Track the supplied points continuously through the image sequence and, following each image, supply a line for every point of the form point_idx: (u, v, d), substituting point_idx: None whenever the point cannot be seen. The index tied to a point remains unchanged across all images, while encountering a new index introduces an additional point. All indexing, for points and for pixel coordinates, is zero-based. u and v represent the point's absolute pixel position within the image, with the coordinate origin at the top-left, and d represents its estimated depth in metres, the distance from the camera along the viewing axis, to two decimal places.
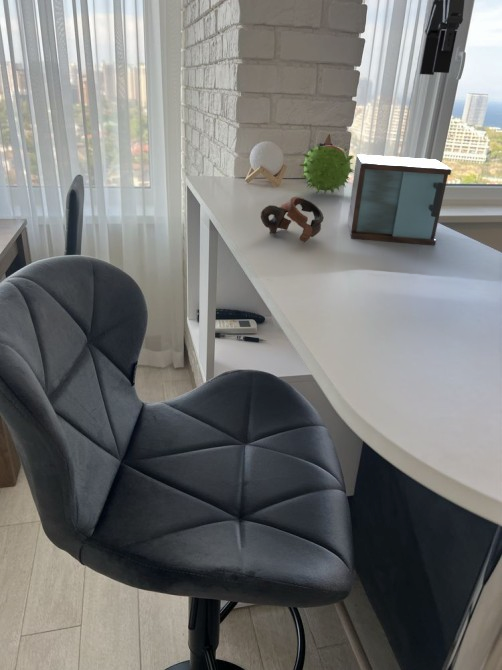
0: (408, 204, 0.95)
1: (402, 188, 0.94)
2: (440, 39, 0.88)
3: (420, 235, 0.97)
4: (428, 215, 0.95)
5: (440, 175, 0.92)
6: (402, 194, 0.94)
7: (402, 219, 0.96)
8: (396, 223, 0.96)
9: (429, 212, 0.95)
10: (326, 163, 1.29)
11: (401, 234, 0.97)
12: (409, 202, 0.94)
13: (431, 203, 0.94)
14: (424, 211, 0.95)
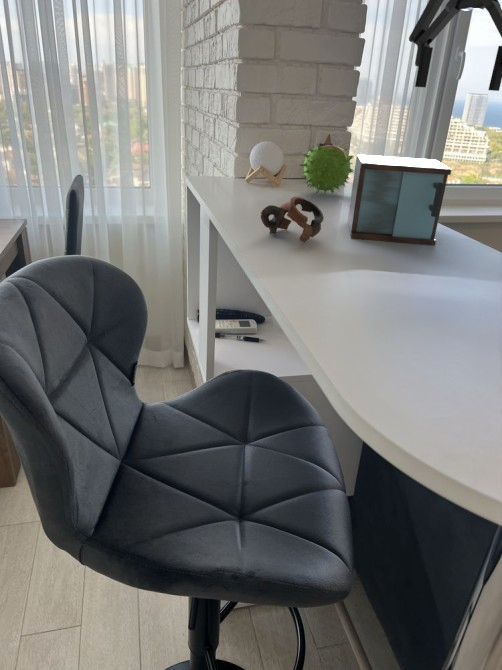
0: (408, 204, 0.95)
1: (402, 188, 0.94)
2: (501, 55, 0.82)
3: (420, 235, 0.97)
4: (428, 215, 0.95)
5: (440, 175, 0.92)
6: (402, 194, 0.94)
7: (402, 219, 0.96)
8: (396, 223, 0.96)
9: (429, 212, 0.95)
10: (326, 163, 1.29)
11: (401, 234, 0.97)
12: (409, 202, 0.94)
13: (431, 203, 0.94)
14: (424, 211, 0.95)
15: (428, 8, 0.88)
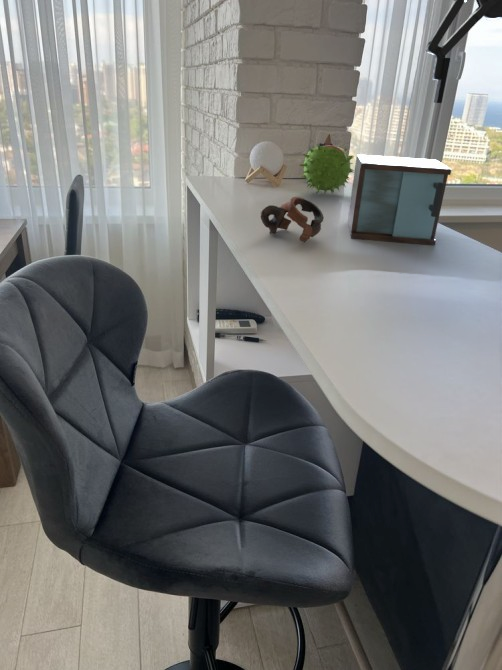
0: (408, 204, 0.95)
1: (402, 188, 0.94)
2: None
3: (420, 235, 0.97)
4: (428, 215, 0.95)
5: (440, 175, 0.92)
6: (402, 194, 0.94)
7: (402, 219, 0.96)
8: (396, 223, 0.96)
9: (429, 212, 0.95)
10: (326, 163, 1.29)
11: (401, 234, 0.97)
12: (409, 202, 0.94)
13: (431, 203, 0.94)
14: (424, 211, 0.95)
15: (452, 14, 0.77)
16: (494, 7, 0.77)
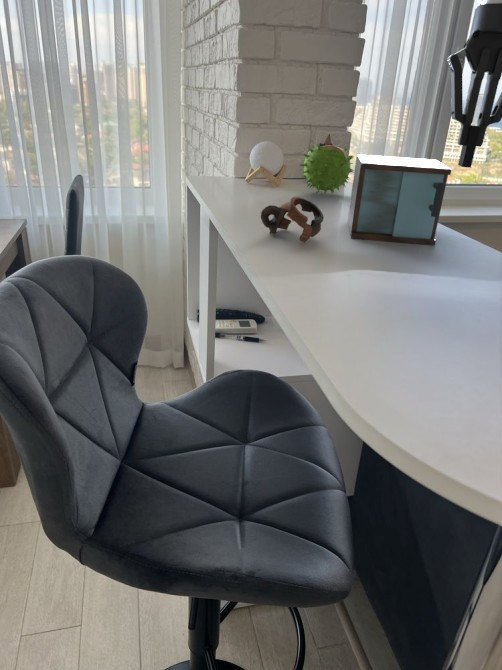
0: (408, 204, 0.95)
1: (402, 188, 0.94)
2: (478, 135, 0.84)
3: (420, 235, 0.97)
4: (428, 215, 0.95)
5: (440, 175, 0.92)
6: (402, 194, 0.94)
7: (402, 219, 0.96)
8: (396, 223, 0.96)
9: (429, 212, 0.95)
10: (326, 163, 1.29)
11: (401, 234, 0.97)
12: (409, 202, 0.94)
13: (431, 203, 0.94)
14: (424, 211, 0.95)
15: (458, 83, 0.81)
16: None
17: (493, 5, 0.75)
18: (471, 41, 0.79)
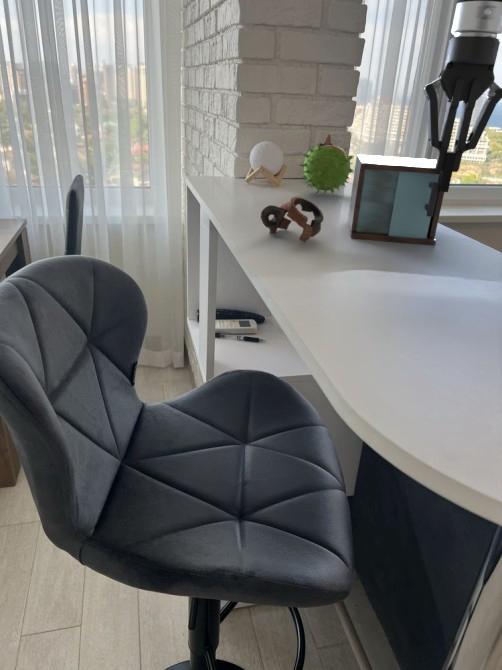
0: (404, 203, 0.95)
1: (398, 188, 0.94)
2: None
3: (416, 234, 0.97)
4: (423, 215, 0.95)
5: (436, 175, 0.92)
6: (398, 194, 0.94)
7: (398, 219, 0.96)
8: (392, 223, 0.96)
9: (425, 212, 0.95)
10: (326, 163, 1.29)
11: (397, 234, 0.97)
12: (405, 201, 0.95)
13: (427, 203, 0.94)
14: (420, 211, 0.95)
15: (434, 111, 0.83)
16: None
17: (465, 38, 0.77)
18: (445, 71, 0.81)
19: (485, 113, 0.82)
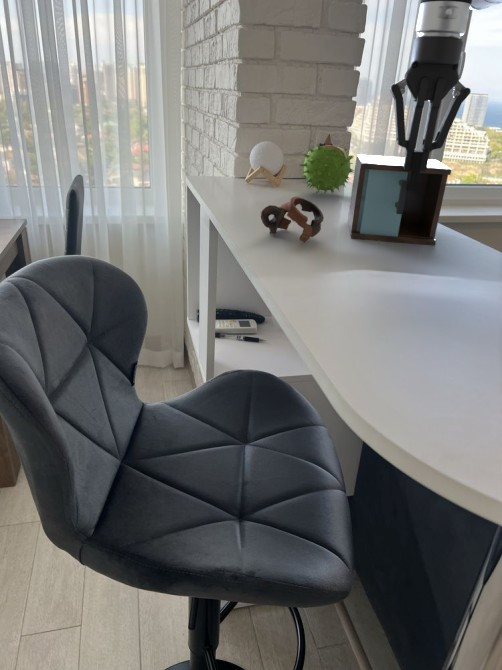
0: (375, 201, 0.95)
1: (368, 186, 0.94)
2: (421, 160, 0.87)
3: (387, 232, 0.97)
4: (394, 212, 0.96)
5: (405, 173, 0.92)
6: (368, 192, 0.95)
7: (369, 216, 0.97)
8: (363, 220, 0.97)
9: (395, 209, 0.95)
10: (326, 163, 1.29)
11: (368, 231, 0.98)
12: (376, 199, 0.95)
13: (397, 200, 0.95)
14: (390, 208, 0.95)
15: (400, 111, 0.84)
16: None
17: (428, 38, 0.78)
18: (410, 71, 0.81)
19: (450, 112, 0.83)
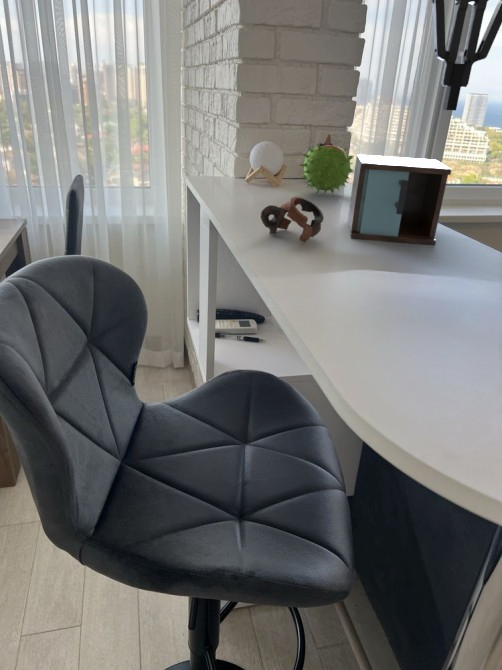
0: (375, 201, 0.95)
1: (368, 186, 0.94)
2: (463, 74, 0.78)
3: (387, 232, 0.97)
4: (394, 212, 0.96)
5: (405, 173, 0.92)
6: (368, 192, 0.95)
7: (369, 216, 0.97)
8: (363, 220, 0.97)
9: (395, 209, 0.95)
10: (326, 163, 1.29)
11: (368, 231, 0.98)
12: (376, 199, 0.95)
13: (397, 200, 0.95)
14: (390, 208, 0.95)
15: (440, 15, 0.75)
16: None
17: None
18: None
19: (497, 15, 0.74)
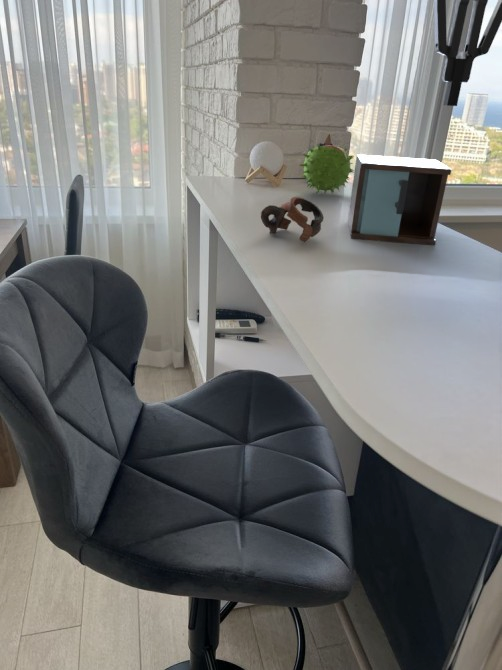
0: (375, 201, 0.95)
1: (368, 186, 0.94)
2: (464, 69, 0.77)
3: (387, 232, 0.97)
4: (394, 212, 0.96)
5: (405, 173, 0.92)
6: (368, 192, 0.95)
7: (369, 216, 0.97)
8: (363, 220, 0.97)
9: (395, 209, 0.95)
10: (326, 163, 1.29)
11: (368, 231, 0.98)
12: (376, 199, 0.95)
13: (397, 200, 0.95)
14: (390, 208, 0.95)
15: (441, 9, 0.74)
16: None
17: None
18: None
19: (499, 10, 0.73)
